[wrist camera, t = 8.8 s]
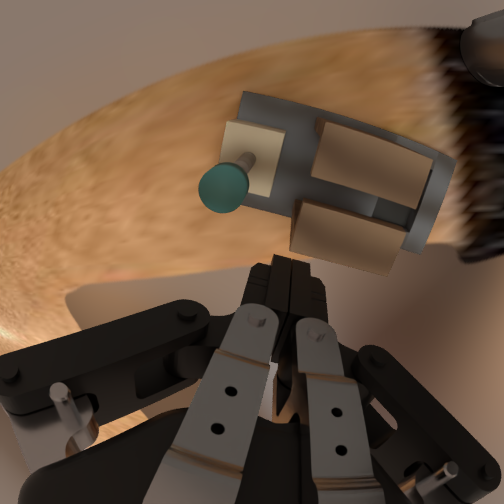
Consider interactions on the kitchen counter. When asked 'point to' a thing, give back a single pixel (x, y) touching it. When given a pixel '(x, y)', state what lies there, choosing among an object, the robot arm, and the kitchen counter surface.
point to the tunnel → (349, 185)
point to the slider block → (242, 165)
